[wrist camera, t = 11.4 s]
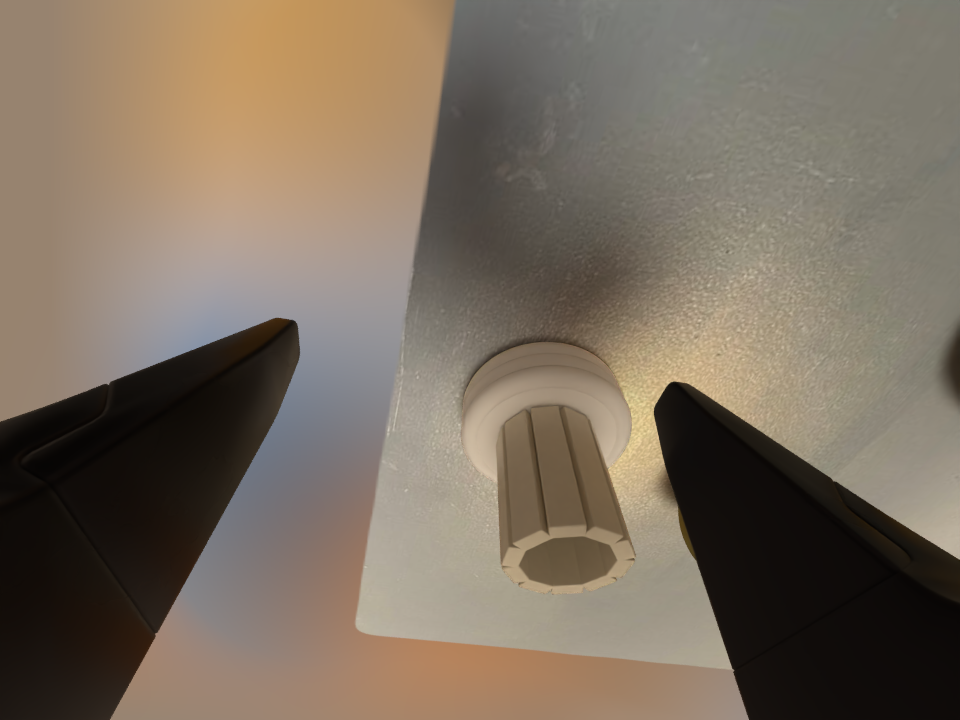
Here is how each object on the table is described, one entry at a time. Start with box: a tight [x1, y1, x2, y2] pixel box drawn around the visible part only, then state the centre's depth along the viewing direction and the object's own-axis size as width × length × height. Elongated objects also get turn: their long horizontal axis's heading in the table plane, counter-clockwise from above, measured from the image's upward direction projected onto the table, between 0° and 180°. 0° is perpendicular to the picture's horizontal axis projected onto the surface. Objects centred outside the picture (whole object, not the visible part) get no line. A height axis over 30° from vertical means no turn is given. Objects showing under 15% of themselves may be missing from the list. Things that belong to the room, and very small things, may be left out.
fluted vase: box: [496, 406, 636, 594], centre depth 20 cm, size 6×6×7 cm
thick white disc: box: [461, 342, 632, 483], centre depth 24 cm, size 10×10×4 cm
